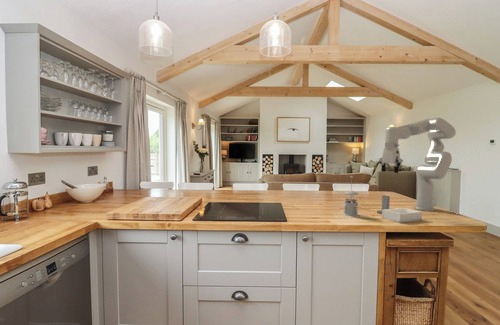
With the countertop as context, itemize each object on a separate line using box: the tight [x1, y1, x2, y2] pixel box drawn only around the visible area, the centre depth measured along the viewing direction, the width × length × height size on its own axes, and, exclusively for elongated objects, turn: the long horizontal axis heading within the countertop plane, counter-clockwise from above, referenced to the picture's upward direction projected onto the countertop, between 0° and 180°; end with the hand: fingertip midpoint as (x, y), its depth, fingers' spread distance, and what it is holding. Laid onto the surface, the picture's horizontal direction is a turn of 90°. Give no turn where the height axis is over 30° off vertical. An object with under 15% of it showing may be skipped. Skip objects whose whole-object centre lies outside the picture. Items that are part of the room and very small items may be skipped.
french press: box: [342, 175, 360, 218], centre depth 167 cm, size 10×12×25 cm
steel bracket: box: [376, 194, 391, 215], centre depth 172 cm, size 10×4×12 cm, turn 111°
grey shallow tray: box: [381, 207, 423, 224], centre depth 157 cm, size 18×12×5 cm, turn 111°
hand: (389, 172), depth 172 cm, fingers open, 9 cm apart
